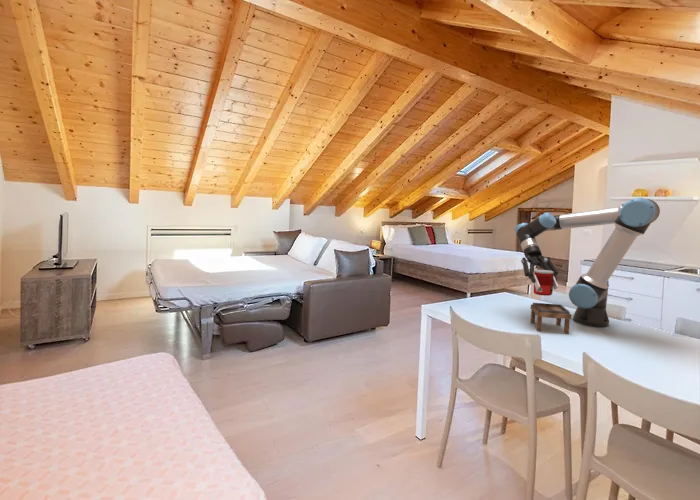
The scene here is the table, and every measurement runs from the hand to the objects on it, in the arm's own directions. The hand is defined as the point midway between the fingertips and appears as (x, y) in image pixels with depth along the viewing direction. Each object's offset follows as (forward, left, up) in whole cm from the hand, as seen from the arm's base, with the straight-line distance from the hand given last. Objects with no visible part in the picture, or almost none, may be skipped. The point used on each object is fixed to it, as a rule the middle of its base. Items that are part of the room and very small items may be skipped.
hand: (547, 287), depth 174 cm
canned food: (+1, -3, -4) cm, 5 cm away
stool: (-3, -2, -20) cm, 20 cm away
